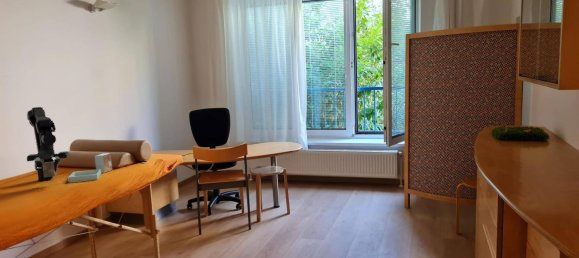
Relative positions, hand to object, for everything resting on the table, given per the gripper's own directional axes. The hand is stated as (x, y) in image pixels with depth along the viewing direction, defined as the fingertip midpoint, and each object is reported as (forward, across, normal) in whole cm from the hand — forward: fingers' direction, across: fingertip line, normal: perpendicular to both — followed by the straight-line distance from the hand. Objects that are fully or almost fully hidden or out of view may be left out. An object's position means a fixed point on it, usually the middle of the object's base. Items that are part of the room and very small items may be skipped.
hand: (50, 172), depth 225 cm
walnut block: (+2, 0, 0) cm, 2 cm away
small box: (+7, +23, +24) cm, 34 cm away
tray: (+7, +15, +10) cm, 19 cm away
